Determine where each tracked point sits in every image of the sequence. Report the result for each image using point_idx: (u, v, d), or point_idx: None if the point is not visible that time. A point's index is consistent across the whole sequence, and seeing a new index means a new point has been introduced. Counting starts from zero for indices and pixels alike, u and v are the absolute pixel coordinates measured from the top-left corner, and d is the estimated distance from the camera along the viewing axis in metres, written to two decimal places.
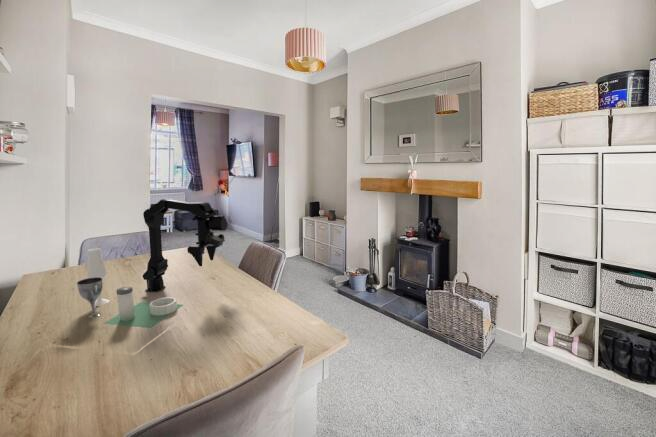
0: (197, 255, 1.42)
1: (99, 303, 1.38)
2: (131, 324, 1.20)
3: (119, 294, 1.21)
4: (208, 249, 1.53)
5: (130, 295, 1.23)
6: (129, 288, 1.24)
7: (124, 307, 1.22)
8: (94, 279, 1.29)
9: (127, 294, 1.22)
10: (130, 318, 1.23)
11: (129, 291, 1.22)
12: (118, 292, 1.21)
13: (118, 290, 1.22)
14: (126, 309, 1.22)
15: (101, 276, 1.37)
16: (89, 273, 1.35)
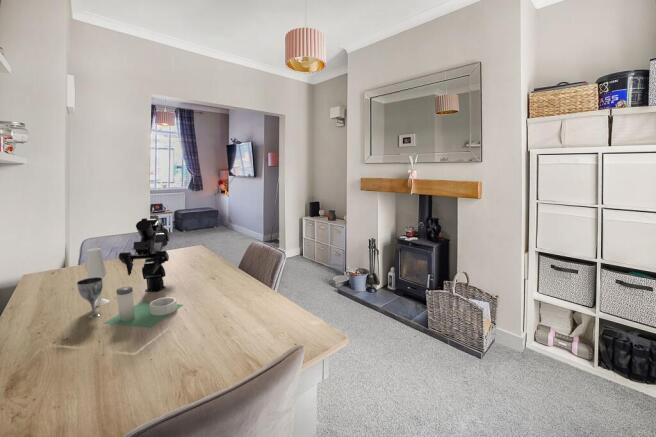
0: None
1: (99, 303, 1.38)
2: (131, 324, 1.20)
3: (119, 294, 1.21)
4: None
5: (130, 295, 1.23)
6: (129, 288, 1.24)
7: (124, 307, 1.22)
8: (94, 279, 1.29)
9: (127, 294, 1.22)
10: (130, 318, 1.23)
11: (129, 291, 1.22)
12: (118, 292, 1.21)
13: (118, 290, 1.22)
14: (126, 309, 1.22)
15: (101, 276, 1.37)
16: (89, 273, 1.35)
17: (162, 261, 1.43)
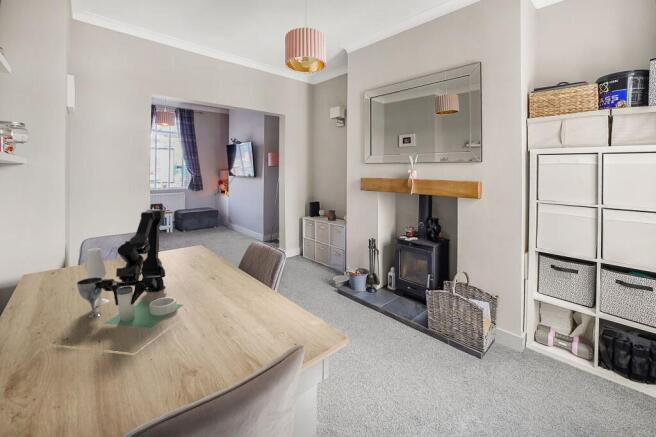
0: None
1: (99, 303, 1.38)
2: (131, 324, 1.20)
3: (119, 294, 1.21)
4: None
5: (130, 295, 1.23)
6: (129, 288, 1.24)
7: (124, 307, 1.22)
8: (94, 279, 1.29)
9: (127, 294, 1.22)
10: (130, 318, 1.23)
11: (129, 291, 1.22)
12: (118, 292, 1.21)
13: (118, 290, 1.22)
14: (126, 309, 1.22)
15: (101, 276, 1.37)
16: (89, 273, 1.35)
17: (144, 289, 1.28)
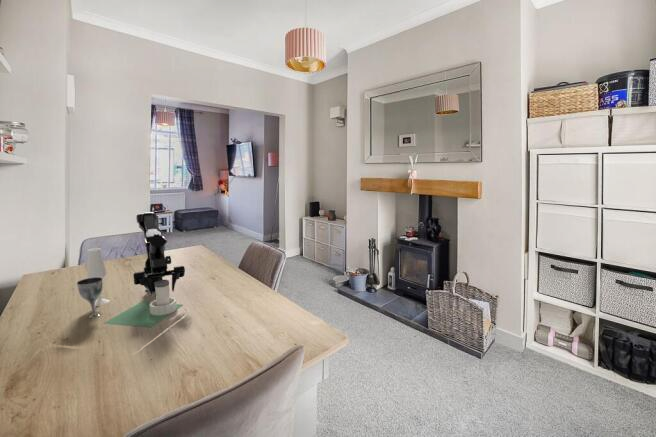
0: None
1: (99, 303, 1.38)
2: (131, 324, 1.20)
3: (160, 287, 1.28)
4: None
5: (168, 287, 1.31)
6: (166, 281, 1.31)
7: (164, 299, 1.29)
8: (94, 279, 1.29)
9: (167, 286, 1.30)
10: None
11: (168, 283, 1.30)
12: (159, 285, 1.28)
13: (157, 283, 1.28)
14: (165, 300, 1.30)
15: (101, 276, 1.37)
16: (89, 273, 1.35)
17: (177, 277, 1.37)
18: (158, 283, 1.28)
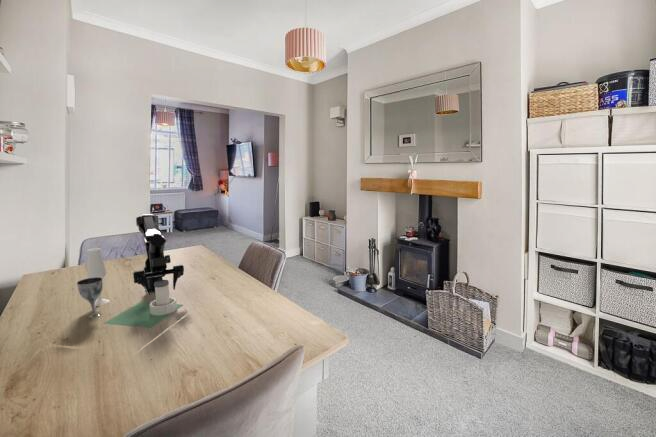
0: None
1: (99, 303, 1.38)
2: (131, 324, 1.20)
3: (159, 287, 1.28)
4: None
5: (168, 287, 1.31)
6: (165, 281, 1.31)
7: (164, 299, 1.30)
8: (94, 279, 1.29)
9: (167, 286, 1.30)
10: None
11: (167, 283, 1.30)
12: (158, 285, 1.28)
13: (157, 283, 1.28)
14: (165, 300, 1.30)
15: (101, 276, 1.37)
16: (89, 273, 1.35)
17: (178, 276, 1.40)
18: (158, 283, 1.29)
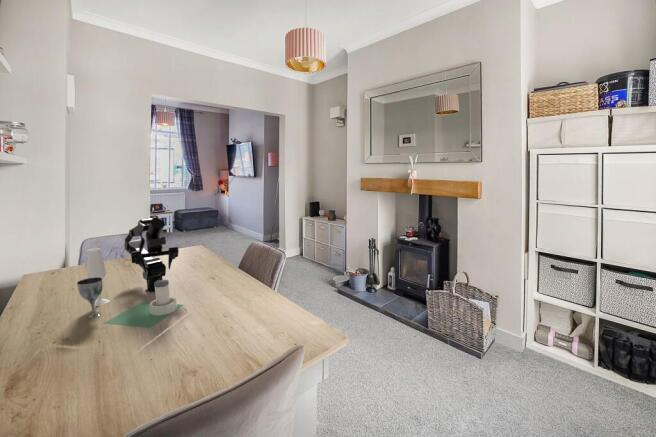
0: None
1: (99, 303, 1.38)
2: (131, 324, 1.20)
3: (159, 286, 1.28)
4: (168, 260, 1.47)
5: (168, 287, 1.31)
6: (166, 280, 1.31)
7: (164, 298, 1.30)
8: (94, 279, 1.29)
9: (167, 286, 1.30)
10: None
11: (167, 283, 1.31)
12: (158, 285, 1.28)
13: (157, 283, 1.28)
14: (165, 300, 1.30)
15: (101, 276, 1.37)
16: (89, 273, 1.35)
17: (173, 257, 1.49)
18: (158, 283, 1.29)
